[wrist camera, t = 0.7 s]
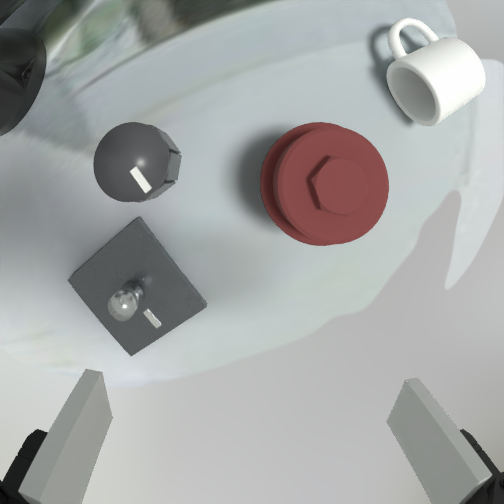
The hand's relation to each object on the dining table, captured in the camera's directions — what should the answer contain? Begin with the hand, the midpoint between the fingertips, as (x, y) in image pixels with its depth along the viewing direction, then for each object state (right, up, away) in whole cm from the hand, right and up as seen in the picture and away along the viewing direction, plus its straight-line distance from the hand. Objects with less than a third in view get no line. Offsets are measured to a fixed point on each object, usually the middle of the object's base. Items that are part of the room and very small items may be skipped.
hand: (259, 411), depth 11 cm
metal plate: (-14, +2, +22) cm, 26 cm away
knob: (-11, +16, +18) cm, 27 cm away
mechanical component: (+5, +14, +20) cm, 25 cm away
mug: (+19, +28, +17) cm, 38 cm away
